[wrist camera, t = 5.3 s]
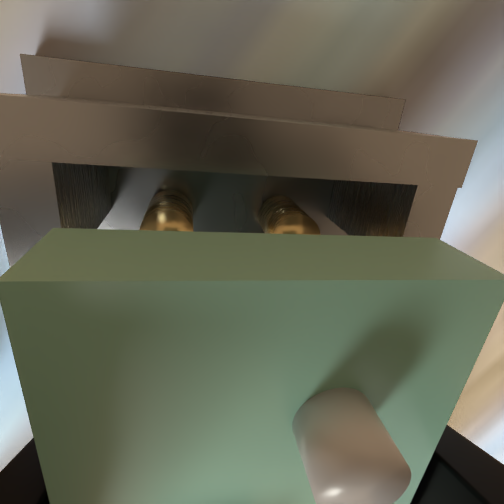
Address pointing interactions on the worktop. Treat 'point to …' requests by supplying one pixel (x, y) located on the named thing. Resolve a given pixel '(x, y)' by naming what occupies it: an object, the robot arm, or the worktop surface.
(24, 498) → the robot arm
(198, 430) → the board
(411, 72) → the worktop surface
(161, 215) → the chassis
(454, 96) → the worktop surface
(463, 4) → the worktop surface
